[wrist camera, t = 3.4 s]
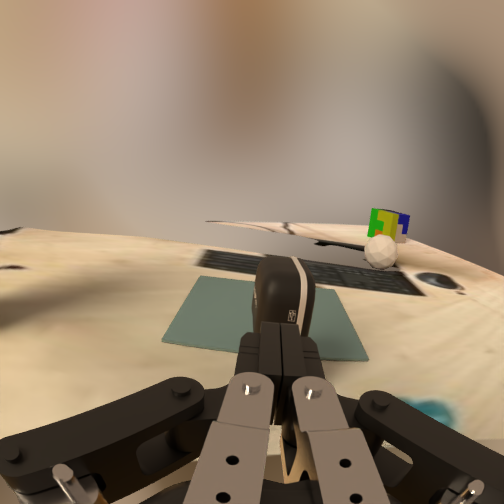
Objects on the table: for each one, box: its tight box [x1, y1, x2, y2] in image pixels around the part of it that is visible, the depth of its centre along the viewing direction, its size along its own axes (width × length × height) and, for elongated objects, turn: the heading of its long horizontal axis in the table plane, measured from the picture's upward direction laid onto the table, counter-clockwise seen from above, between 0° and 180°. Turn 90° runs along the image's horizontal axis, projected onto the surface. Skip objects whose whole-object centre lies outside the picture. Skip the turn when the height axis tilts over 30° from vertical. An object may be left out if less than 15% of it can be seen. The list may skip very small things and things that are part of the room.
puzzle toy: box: [367, 208, 410, 243], centre depth 98 cm, size 10×10×10 cm
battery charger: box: [251, 256, 316, 337], centre depth 24 cm, size 7×4×11 cm, turn 2°
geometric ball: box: [365, 234, 398, 270], centre depth 63 cm, size 8×8×8 cm
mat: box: [162, 276, 369, 361], centre depth 39 cm, size 22×20×1 cm
